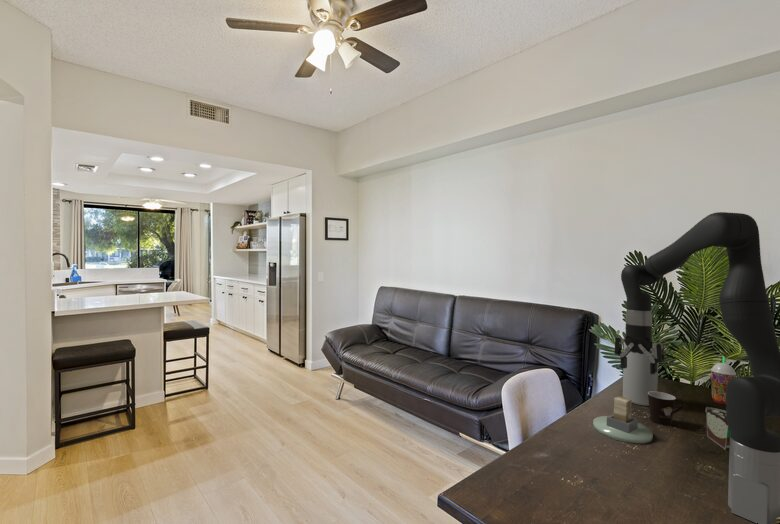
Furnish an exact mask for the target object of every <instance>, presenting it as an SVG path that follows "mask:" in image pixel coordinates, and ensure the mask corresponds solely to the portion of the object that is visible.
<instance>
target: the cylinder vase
mask: <svg viewBox="0 0 780 524" xmlns="http://www.w3.org/2000/svg"><path fill="white" fill-rule="evenodd" d="M626 347H627V345H626V344H625V342H624V343H623V350H624V349H625V348H626ZM651 351H652V352H653V353H654V355H655V357H656V358H657V350H655V348H654V347H652V348H651ZM626 357H627V368H622V369H623V370H622V371H623V372H622V397H624V398H627V399H631V404H635V405H639V406H647V407H649V400H648V392H651V391H656V392H658V387H659V386H658V384H659V383H658V382H659V381H658V380H659V363H657V372H656V373H655V374H650V363H651V361H650V360H649V358H648V357H646V355H645V354H639V353H632V352H630V353H629V354H628V355H627V356H626Z"/></svg>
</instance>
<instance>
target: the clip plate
mask: <svg viewBox="0 0 780 524" xmlns="http://www.w3.org/2000/svg"><path fill="white" fill-rule="evenodd" d="M592 421H593V422H592V423H593V424H592V425H593V428H594V430H596V431H597V432H598V433H600V434H601V435H603V436H605V437H608V438H610V439H611V440H612V439H613V440H616V441H620V442H623V443H628V444H629V443H630V444H638V445H639V444H648V443H651V442H652V441H653V437H654V435H653V431H652V430H651V429H650V428H649V427H647V426H646V425H644V424H643V423H640V422H639V420H638V419H636V418H633V417H631V422H629V423H625V422H622V421H619V420H616V419H614V413H613V414H610V415H602V416H601V415H600V416H596V417H595V418H594V419H593V420H592Z"/></svg>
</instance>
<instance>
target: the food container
mask: <svg viewBox="0 0 780 524" xmlns="http://www.w3.org/2000/svg"><path fill="white" fill-rule="evenodd" d="M705 413H706V415H705V416H706V436H707V438H709V439H710V440H711V441H713V442H714V443H716V445H718V446H720V448H722V449H723V450H725V451H730V429H729V427H728V424H727V419H726V410H724V409H720V408H715V407H708V406H706V407H705Z"/></svg>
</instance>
